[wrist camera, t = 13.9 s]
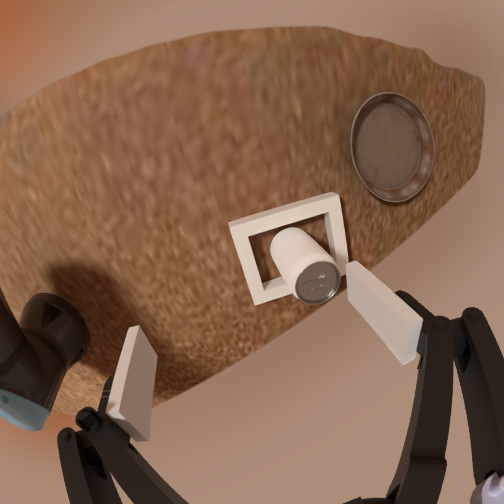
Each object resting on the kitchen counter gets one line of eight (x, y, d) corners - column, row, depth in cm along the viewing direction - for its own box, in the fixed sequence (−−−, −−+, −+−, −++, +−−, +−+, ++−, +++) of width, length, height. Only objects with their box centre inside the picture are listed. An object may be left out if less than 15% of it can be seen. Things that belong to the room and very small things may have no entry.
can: (314, 256, 43) (348, 294, 32) (277, 272, 43) (299, 316, 32) (303, 219, 40) (338, 249, 29) (263, 236, 40) (284, 271, 29)
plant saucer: (431, 119, 36) (442, 119, 34) (411, 209, 42) (421, 213, 40) (352, 77, 33) (362, 73, 30) (329, 183, 39) (338, 186, 36)
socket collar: (252, 297, 44) (254, 305, 41) (228, 222, 38) (229, 227, 36) (343, 266, 44) (349, 272, 42) (331, 191, 39) (338, 194, 37)
